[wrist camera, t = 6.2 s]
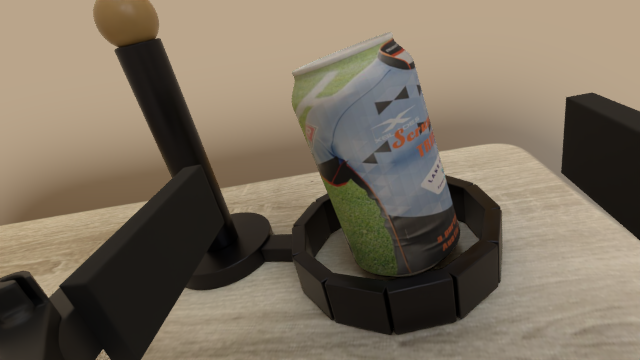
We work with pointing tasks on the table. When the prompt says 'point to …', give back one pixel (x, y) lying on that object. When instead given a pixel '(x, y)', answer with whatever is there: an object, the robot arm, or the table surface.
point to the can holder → (314, 224)
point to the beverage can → (377, 156)
